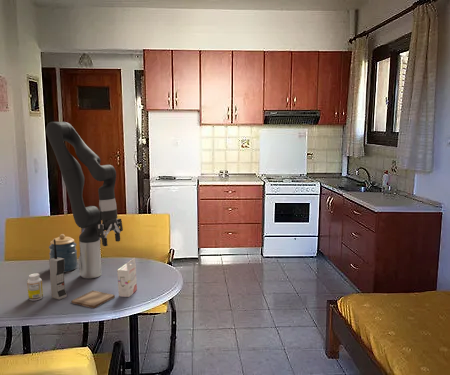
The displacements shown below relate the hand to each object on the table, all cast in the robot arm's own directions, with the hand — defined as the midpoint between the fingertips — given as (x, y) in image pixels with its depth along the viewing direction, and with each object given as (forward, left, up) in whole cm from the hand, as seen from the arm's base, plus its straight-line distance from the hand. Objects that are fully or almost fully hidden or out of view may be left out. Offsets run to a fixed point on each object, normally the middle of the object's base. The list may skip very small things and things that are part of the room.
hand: (111, 243), depth 198 cm
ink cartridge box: (+17, -10, -17) cm, 26 cm away
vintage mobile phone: (-6, -26, -17) cm, 32 cm away
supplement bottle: (-14, -31, -17) cm, 38 cm away
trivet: (+9, -22, -17) cm, 29 cm away
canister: (-33, +2, -17) cm, 38 cm away
